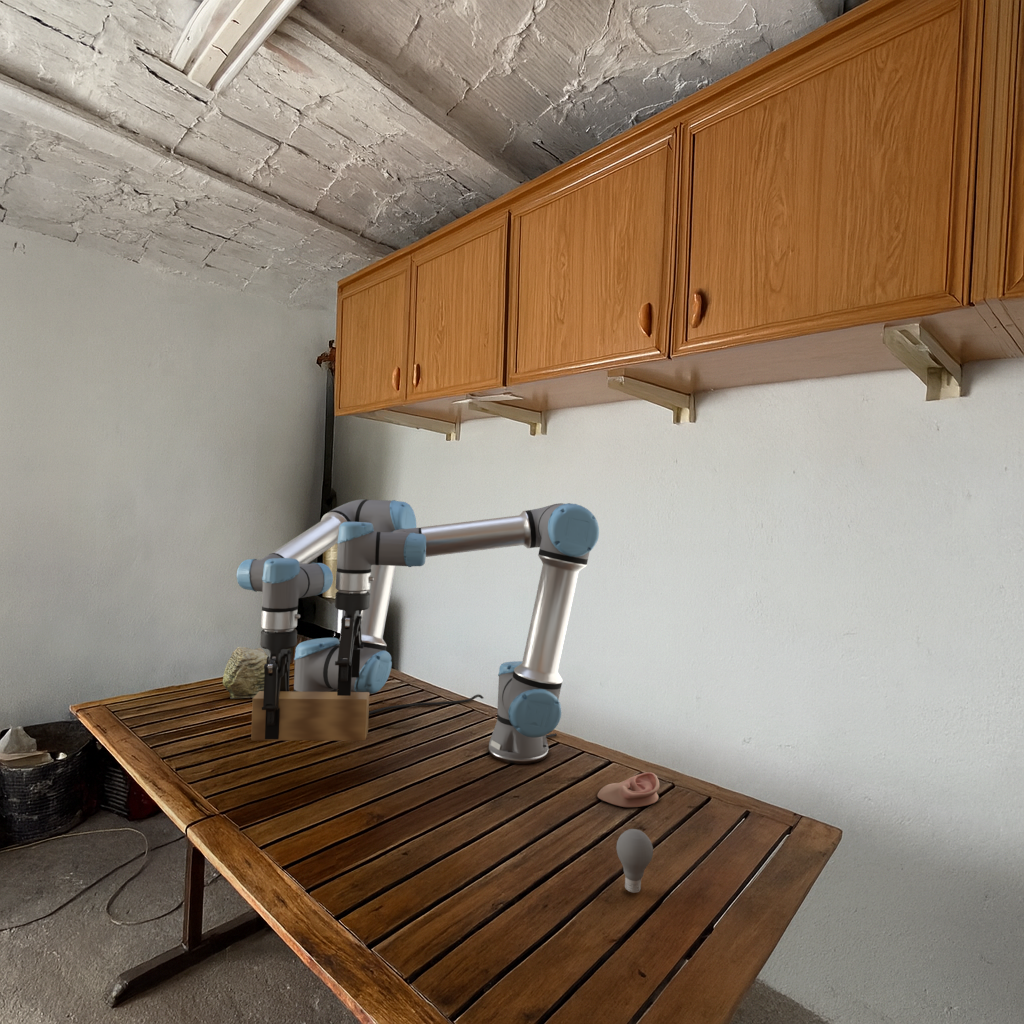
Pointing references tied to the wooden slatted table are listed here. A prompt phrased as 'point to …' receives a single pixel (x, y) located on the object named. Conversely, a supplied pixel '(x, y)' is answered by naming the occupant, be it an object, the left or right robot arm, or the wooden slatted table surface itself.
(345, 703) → the bar
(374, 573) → the left robot arm
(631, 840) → the light bulb
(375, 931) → the wooden slatted table surface
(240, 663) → the fossil
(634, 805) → the anatomical model
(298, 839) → the wooden slatted table surface
